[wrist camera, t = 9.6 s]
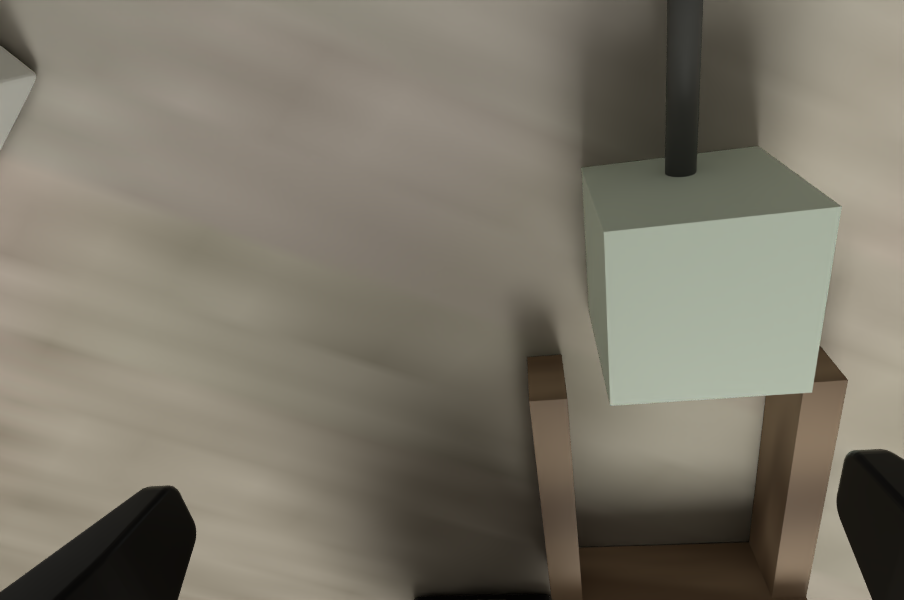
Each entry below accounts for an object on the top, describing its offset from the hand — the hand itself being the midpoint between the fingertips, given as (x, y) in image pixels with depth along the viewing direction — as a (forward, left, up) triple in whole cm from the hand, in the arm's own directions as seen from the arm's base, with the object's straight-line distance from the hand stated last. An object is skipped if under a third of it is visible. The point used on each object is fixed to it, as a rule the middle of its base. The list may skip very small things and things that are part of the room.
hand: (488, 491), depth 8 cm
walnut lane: (-12, -5, -12) cm, 17 cm away
